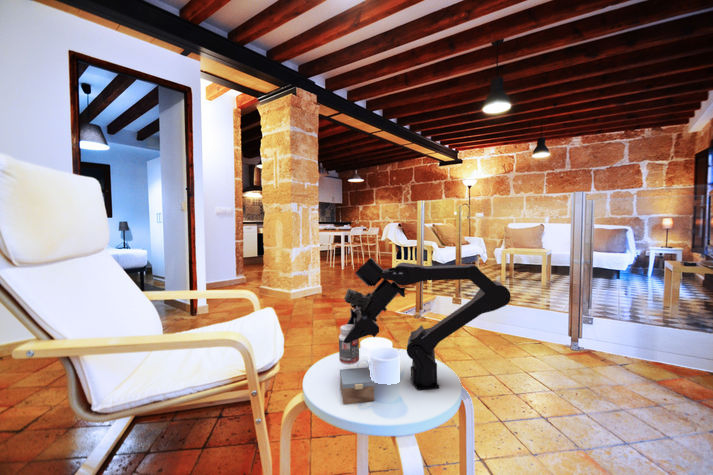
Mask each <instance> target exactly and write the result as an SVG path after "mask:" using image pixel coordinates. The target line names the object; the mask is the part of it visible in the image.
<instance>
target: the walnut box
mask: <svg viewBox="0 0 713 475" xmlns="http://www.w3.org/2000/svg"><path fill="white" fill-rule="evenodd" d="M339 383H340V384H339V386H340V387H339V388H340V393H341V399H342V404H343V405H349V404H350V405H351V404H358V403H359V404H361V403H369V402H375V385H374V386H367V387H363V389H355V388H346V389H343V387H342V382H341V377H340V376H339Z"/></svg>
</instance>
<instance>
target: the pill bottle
mask: <svg viewBox="0 0 713 475" xmlns="http://www.w3.org/2000/svg"><path fill="white" fill-rule="evenodd" d="M353 326H354V325H352V324H347V323H346V324H343V325H341V326H340V328H339V329H340V334H339V336H338V348H339V349H338V350H339V356H338V357H339V362H340V363H341V364H343V365H348V366H350V365H355V364H357V363H358V362H359V361H360V344H359V343H360V340H359V339H360V338H359V339H357V340H354V341H352V342H349V343H347V344H346V343H345V342H344V339H345V338H346V336H347V335H348V333H349V332H350V330H351V329H352V327H353Z"/></svg>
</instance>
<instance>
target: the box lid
mask: <svg viewBox="0 0 713 475" xmlns="http://www.w3.org/2000/svg"><path fill="white" fill-rule="evenodd" d="M370 370H371V369H370V368H369V367H368V366H366V367H355V368H354V367H353V368H343V369H339V378H340V377H341V382H342V387H343V389H346V388H355V389H363V387H367V386H374V387H375V380H374V381H372V380H371V377H370V372H371V371H370Z"/></svg>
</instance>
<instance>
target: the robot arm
mask: <svg viewBox="0 0 713 475" xmlns="http://www.w3.org/2000/svg"><path fill="white" fill-rule="evenodd" d="M354 274H355V275H356V276H357V277H358V279H360V280H361V281H362V283H364V284H365V285H366V286H367V287H372V286H373V287H375V286H376V285H377V284H378V283H379V284H378V285H377V286H376V288H375V289H374V290H373V291H372V292H367V293H366V294H363V293H362V292H358V291H357V290H354V289H351V288H348V289H347V291H346V293H345V296H344V298H343V300H344V302H345V303H347V304H350V310H349V311H350V317H349V319H348V321H347V323H346V325H347V324H352V325H354V326H353V327H352V329H351V330H350V332H349V333H348V335H347V336H346V338H345V339H344V342H345V343H346V344H347V343H349V342H352V341H354V340H357V339H361V338H364V337H367V336H372V337H373V338H375V337H377V335H378V334H379V333H380V326H379V325H378V323H377V321H378V319H377V318H378V316H380V314H381V313H382V312H386V311H387V310H388V309H387V306H389V304H391V302H392V301H393V300H394V299H395V298H396V296H397V295H398V294H399V296H401V297H403V298H405V297H406V293H405V291H406V287H405V286H409V285H414V284H418V283H421V282H425V281H452V280H453V281H454V280H455V281H457V280H459V281H460V280H462V281H463V280H466V281H467V280H469V281H470V282H472V283H473V284H474V285H475V286H476V288H477V287H478V288H479V289H478V290H477V292H476V293H475V294H474V296H473V298H472V299H471V300H469V301H467V302H466V303H464V304H463V305H462V306H460V307H459V308H457V309H456V310H454V311H453V312H451V313H450V314H449V315H447V316H446V317H444V318H443V319H442V320H440V321H439V322H437V323H435V324H434V325H432V326H430V327H428V328H424V325H420V326H419V327H418V328H417V329H416V330H413V331H411V332H410V335H409V336H408V339H407V343H406V344H407V345H406V354H407V356H408V357H409V358H410V359H411V360H412V362H411V366H410V381H411V382H412V385H413V386H414V387H415V388H416V390H418V391H420V390H429V389H430V390H431V389H440V384H439V383H438V363H437V362H436V354H435V353H436V352H435V348H436V347H437V345H439V343H440V342H442V341H444V340H445V339H447V337H450V336H451V335H452V334H454V333H455V332H457V331H458V330H460V329H462V328H463V327H465V326H466V325H467V324H468V323H470V322H472V321H474V320H475V319H476V318H478V317H479V316H481V315H483V314H486V313H490V312H494V311H498V310H499V309H502V308H504V307H506V306H507V305H508V304H510V301H511V292H510V290H509V289H508V287H506V286H505V285H503V284H502V283H501V282H500V281H497V280H491V278H489V276H487V275H486V274H484V273H483V272H482V271H481V269H480V268H479V267H478V266H477V265H475V264H474V263H468V264H467V263H466V264H450V265H449V264H447V265H444V264H443V265H423V264H422V265H421V264H420V265H419V264H416V263H410V262H400V263H398V264H397V265H395V267H388V268H385V269H384V268H382V267H381V266H380V265H379V264H378V263H377V262H376V260H375V259H374V258H373V257H370V258H368V260H367V261H365V263H364V264H362V265H361V266H359V268H358V269H357V270H356V272H355V273H354ZM382 279H383V280H382ZM381 280H382V281H381ZM380 281H381V282H380ZM390 281H391V282H390ZM401 286H402V287H401Z"/></svg>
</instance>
